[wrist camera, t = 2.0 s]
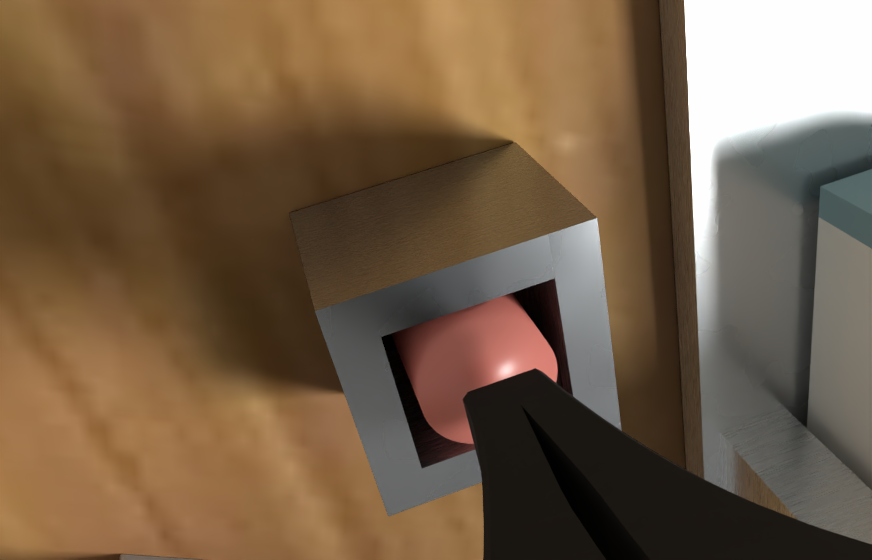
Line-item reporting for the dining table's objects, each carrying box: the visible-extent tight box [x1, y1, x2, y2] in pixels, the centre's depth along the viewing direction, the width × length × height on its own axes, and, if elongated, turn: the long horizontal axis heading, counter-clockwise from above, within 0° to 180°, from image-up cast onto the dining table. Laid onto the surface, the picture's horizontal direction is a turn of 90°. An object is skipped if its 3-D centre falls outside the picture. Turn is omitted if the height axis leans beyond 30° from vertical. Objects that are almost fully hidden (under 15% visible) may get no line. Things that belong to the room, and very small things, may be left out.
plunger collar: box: [289, 142, 622, 516], centre depth 16 cm, size 5×5×4 cm
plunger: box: [391, 293, 558, 444], centre depth 16 cm, size 3×3×4 cm
